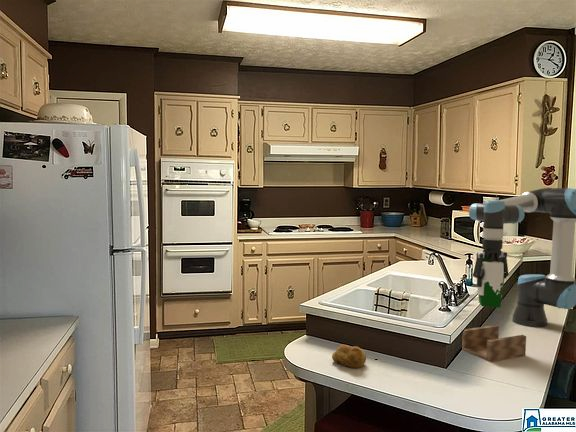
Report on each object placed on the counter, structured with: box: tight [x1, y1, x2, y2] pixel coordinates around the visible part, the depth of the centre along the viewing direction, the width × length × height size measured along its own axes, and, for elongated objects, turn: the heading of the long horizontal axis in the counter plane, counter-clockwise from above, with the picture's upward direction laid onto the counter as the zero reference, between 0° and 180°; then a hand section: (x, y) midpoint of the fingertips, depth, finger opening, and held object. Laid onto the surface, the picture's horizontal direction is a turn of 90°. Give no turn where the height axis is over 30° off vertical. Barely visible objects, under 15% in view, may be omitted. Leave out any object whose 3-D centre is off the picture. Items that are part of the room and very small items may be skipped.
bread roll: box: [331, 344, 367, 369], centre depth 184 cm, size 13×10×8 cm
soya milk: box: [477, 256, 504, 308], centre depth 201 cm, size 9×9×20 cm
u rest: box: [461, 324, 527, 363], centre depth 198 cm, size 18×16×8 cm
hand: (489, 294), depth 202 cm, fingers closed on soya milk, 9 cm apart
